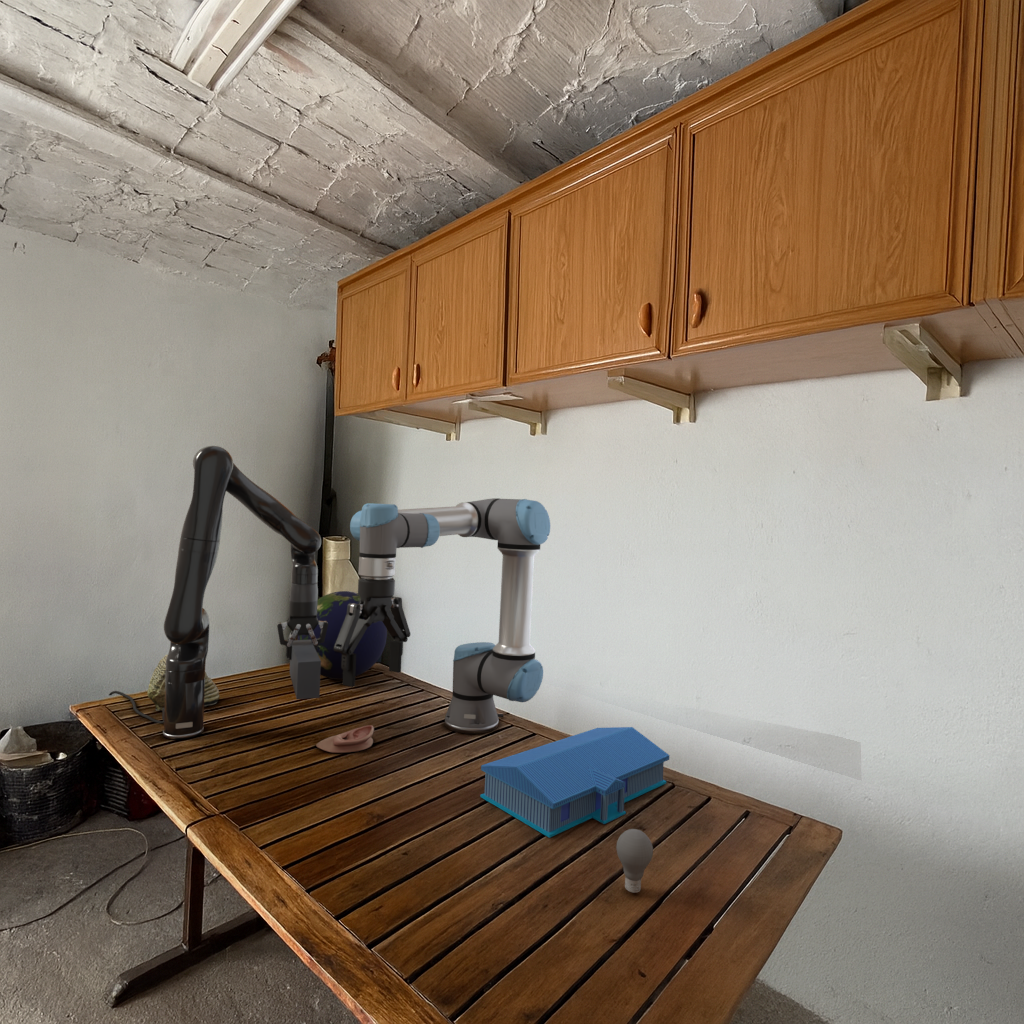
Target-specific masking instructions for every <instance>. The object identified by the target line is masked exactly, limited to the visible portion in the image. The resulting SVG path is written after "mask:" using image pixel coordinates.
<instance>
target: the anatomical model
mask: <svg viewBox="0 0 1024 1024" xmlns="http://www.w3.org/2000/svg"><path fill="white" fill-rule="evenodd" d="M374 732H375V727H374V725H371V724H369V725H368V724H367V725H364V726H360V727H356V728H353V729H351V730H347V731H344V732H342V733H339V734H336V735H332V736H329V737H326V738H324V739H322V740H320V741H318V742H317V743H316V747H317V748H318V749H320V750H322V751H325V752H328V753H333V754H340V753H341V754H342V753H353V752H359V751H363V750H366V749H369V748H371V747H372V746H373V743H374V739H373V737H372V736H373V735H374Z"/></svg>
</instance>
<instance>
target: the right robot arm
mask: <svg viewBox="0 0 1024 1024" xmlns="http://www.w3.org/2000/svg"><path fill="white" fill-rule="evenodd" d="M550 519H551V518H550V515H549V512H548V511H547V509H546V508H545V506H544V504H542V503H541V502H539V501H538V500H532V499H527V498H499V497H498V498H497V497H495V498H492V497H491V498H485V499H479V500H473V501H463V502H458V503H457V504H456V505H455V506H438V507H437V506H436V507H420V508H403V509H401V508H400V509H399V508H398V506H397V504H393V503H372V502H371V503H370V502H369V503H365V504H363V505H362V507H361V510H358V511H357V512H355V514H353V515H352V517H351V519H350V523H349V530H350V534H351V535H352V537H353V538H354V539H355V540H356V541H359V556H358V572H357V573H358V575H359V576H360V577H359V578H358V580H357V593H358V595H359V596H360V603H359V604H354V603H349V604H348V607H347V614H346V617H345V620H344V622H343V625H342V627H341V630H340V632H339V635H338V638H337V640H336V643H335V645H334V648H333V649H334V651H337V652H340V653H341V654H342V663H341V668H342V670H343V679H342V685H343V686H346V687H351V688H354V687H356V676H355V673H356V654H354V653H353V652H354V650H355V648H356V647H357V645H358V643H359V641H360V640H361V638H362V636H363V634H364V633H365V631H366V629H367V627H369V626H370V625H371V624H372V623H376V622H378V621H382V622H383V623H384V625H385V627H386V628H387V632H388V633H389V634H390V635H389V636H391V637H392V639H393V640H390V641H389V663H388V665H389V666H388V671H389V672H394V673H397V674H400V673H401V672H402V671H401V670H402V656H403V653H404V643H407V642H408V638H410V637H411V631H410V627H409V625H408V621H407V618H406V615H405V612H404V609H403V608H404V607H403V598H402V597H401V596H400V597H399V596H395V590H396V589H395V587H396V580H395V578H393V577H395V575H396V557H397V549H400V548H405V549H406V548H407V549H408V548H421V549H423V548H426V547H432V546H433V545H435V544H436V543H437V541H439V538H440V537H445V536H455V535H458V536H459V537H462V538H480V539H486V540H491V541H497V547H496V548H497V550H498V551H499V553H501V555H502V559H501V560H502V562H501V581H500V582H501V583H500V601H499V602H500V603H499V608H500V609H499V624H498V626H499V627H498V642H497V643H496V644H495V643H493V642H486V641H485V642H484V641H483V642H482V641H480V642H479V641H478V642H467V643H463V644H460V645H458V646H457V647H456V648H455V649H454V652H453V660H452V695H451V699H450V703H449V705H448V708H447V710H446V714H445V717H444V726H445V727H446V728H447V729H448V730H450V731H452V732H455V733H459V734H467V735H481V734H486V733H490V732H493V731H495V730H497V729H498V728H499V718H504V714H502V713H498V711H497V708H496V704H495V700H494V696H496V697H499V698H502V699H506V700H508V701H509V702H517V703H527V702H529V701H530V700H532V699H533V698H534V696H536V695H537V693H538V691H539V690H540V688H541V685H542V684H543V683H542V682H543V678H544V667H543V665H542V663H541V661H539V660H538V659H536V649H535V648H534V646H532V644H531V634H532V633H531V632H532V631H531V630H532V613H533V590H534V589H533V588H534V570H535V556H536V555H537V554H538V553H539V552H540V551H541V545H542V544H544V543H546V542H547V540H548V539H549V536H550V532H551V520H550ZM363 618H364V619H363ZM341 645H342V646H341ZM349 646H350V647H349ZM348 647H349V648H348Z"/></svg>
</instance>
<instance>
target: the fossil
mask: <svg viewBox="0 0 1024 1024" xmlns="http://www.w3.org/2000/svg"><path fill="white" fill-rule="evenodd" d="M167 656H168V654H165V655H164V656H163V657H162V658H161V659H160V660H159V662H158V663H157V666H156V667H155V669H154V670H153V672H152V675H151V677H150V680H149V684H148V688H147V697H148V699H149V700H150V701H152V703H153V704H154V706H155V711H158V712H159V711H161V712H162V709H163V708H164V705H165V674H166V659H167ZM220 698H221V696H220V690H219V688H218V686H217V685H216V683H215V682H214V681H213V679H212V678H211V677H209V675H208V674H207V672H206V671H205V693H204V707H207V706H213V705H215V704H217V703H218V701H219V699H220Z"/></svg>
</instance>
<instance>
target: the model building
mask: <svg viewBox="0 0 1024 1024" xmlns="http://www.w3.org/2000/svg"><path fill="white" fill-rule="evenodd" d="M668 761H670V754H669V753H667V752H666V751H665V750H663V749H662V748H661V747H659V746H658V745H657V744H655V743H654V742H653V741H651V740H650V739H649V738H648V737H646V736H645V735H644V734H642V733H641V732H640V731H638V730H637V729H636V728H634V727H633V726H620V727H619V726H617V727H614V726H613V727H611V726H610V727H595V728H593V729H590V730H586V731H583V732H580V733H577V734H573V735H571V736H568V737H563V738H562V739H559V740H556V741H553V742H549V743H546V744H543V745H540V746H537V747H533V748H531V749H527V750H524V751H522V752H518V753H515V754H512V755H509V756H505V757H503V758H500V759H496V760H494V761H490V762H488V763H484V764H481V765H480V771H482V772H484V773H485V774H484V775H485V776H484V777H485V778H484V793H481V794H480V795H479V797H480V798H482V799H483V800H485V801H486V802H487V803H490V804H492V805H493V806H495V807H497V808H498V809H499V810H501V811H503V812H504V813H506V814H508V815H510V816H512V817H513V818H515V819H517V820H518V821H520V822H522V823H523V824H525V825H526V826H528V827H530V828H532V829H533V830H535V831H536V832H539V833H541V834H542V835H544V836H545V837H547V838H550V839H551V838H552V837H554V836H556V835H559V834H561V833H564V832H565V831H567V830H569V829H572V828H574V827H576V826H578V825H580V824H583V823H585V822H587V821H589V820H591V819H593V820H595V821H597V822H598V823H601V824H603V825H606V824H608V823H610V822H612V821H614V820H616V819H618V818H620V817H623V816H624V815H626V814H627V812H626V810H625V803H628V802H629V801H632V800H634V799H636V798H638V797H640V796H642V795H644V794H647V793H649V792H651V791H653V790H655V789H657V788H659V787H662V786H664V785H666V784H667V780H665V779H664V763H665V762H668Z"/></svg>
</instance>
